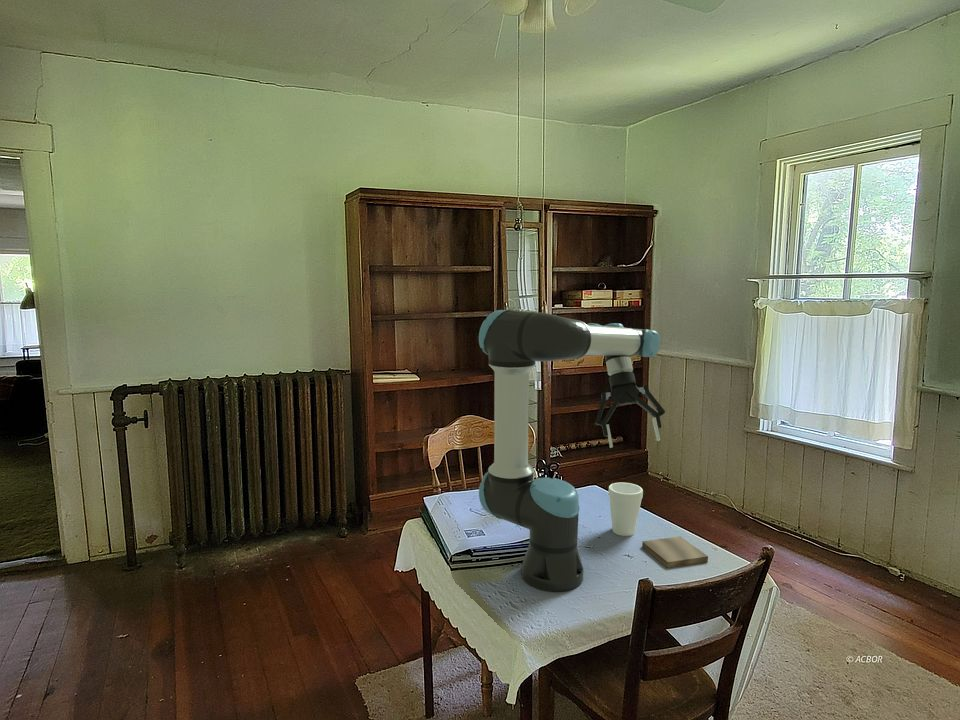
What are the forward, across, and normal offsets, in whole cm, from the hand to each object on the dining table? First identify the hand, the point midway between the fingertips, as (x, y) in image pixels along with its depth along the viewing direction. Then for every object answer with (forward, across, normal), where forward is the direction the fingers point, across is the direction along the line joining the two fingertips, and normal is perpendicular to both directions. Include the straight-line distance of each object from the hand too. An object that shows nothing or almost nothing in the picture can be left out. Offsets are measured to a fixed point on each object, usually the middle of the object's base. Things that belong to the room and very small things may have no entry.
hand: (634, 443), depth 175 cm
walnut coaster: (+31, -4, +5) cm, 32 cm away
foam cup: (+24, +8, -6) cm, 26 cm away
